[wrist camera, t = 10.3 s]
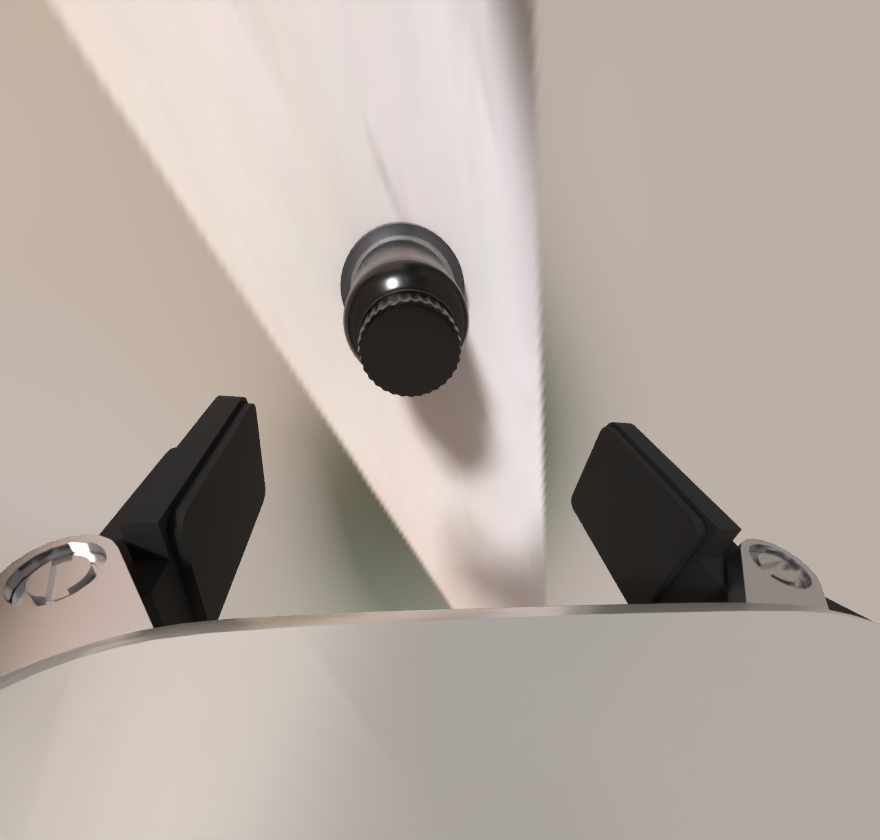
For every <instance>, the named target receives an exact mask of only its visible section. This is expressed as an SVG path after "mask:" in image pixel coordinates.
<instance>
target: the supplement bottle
mask: <svg viewBox="0 0 880 840" xmlns="http://www.w3.org/2000/svg"><path fill="white" fill-rule="evenodd" d="M343 325H344V332H345V336H346V340H347V342H348V345H349V347H350V349H351V351H352V352H353V354H354V356H355V357H356V358H357V360H358V361H359V362H360V363H361V364H362V365H363V369H364V371H365V372H366V373H367V374H368V377H369V379H371V380H373V381H374V383H375V384H376V385H377V386H379V387H381V388H382V389H383V390H384V391H389V392H390V393H391V394H398V395H400V396H409V397H413V396H415V395H416V396H421V395H423V394H427V393H430V392H432V391H433V390H436V389H438V388H439V387H440V386H441V385H443V384H445V383H446V381H447V379H449V378H451V377H452V374H453V372H454V371H455V370H456V369H457V364H458V362H459V361H460V356H459V355H460V353H461V351H462V349H463V347H464V344H465V342H466V339H467V334H468V328H469V314H468V308H467V305H466V301H465V299H464V296H463V294H462V292H461V290H460V288H459V286H458V285H457V283H456V282H455V280H454V279H453V277H452V276H451V274H450V273H449V271H448V270H447V268H446V267H445V265H444V264H443V262H442V261H441V260H440V259H439V257H438V256H437V255H436V254H435V253H434V252H433V251H432V250H430V249H429V248H427V247H426V246H424V245H422V244H420V243H418V242H415V241H411V240H404V239H398V240H391V241H387V242H385V243H382V244H380V245H378V246H377V247H375V248H374V249H372V250H371V251H370V252H369V253H368V254H367V255H366V256H365V257H364V259H363V260H362V262H361V263H360V265H359V267H358V269H357V272H356V275H355V277H354V280H353V283H352V285H351V288H350V291H349V294H348V296H347V299H346V303H345V308H344V316H343Z"/></svg>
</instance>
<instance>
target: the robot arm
mask: <svg viewBox="0 0 880 840" xmlns="http://www.w3.org/2000/svg"><path fill="white" fill-rule="evenodd" d="M264 497H265V482H264V473H263V464H262V456H261V447H260V439H259V431H258V422H257V415H256V407H255V405H254V404H250V403H248V402H247V400H246V398H244V397H234V396H218V397H216V398H215V400H214V401H213V402H212V403H211V405H210V406H209V407H208V409H207V410H206V411H205V412H204V414H203V415H202V416H201V417H200V419H199V420H198V421H197V422H196V424H195V425H194V426H193V427H192V429H191V430H190V431H189V432H188V434H187V435H186V436H185V438H184V439H183V440H182V441H181V443H180V444H179V445H178V446H177V447H175V448H172V449H170V450H169V451H168V452H167V453H166V454H165V455H164V456H163V458H162V459H161V460H160V461H159V463H158V464H157V465H156V466H155V467H154V469H153V470H152V471H151V472H150V474H149V475H148V476H147V477H146V478H145V480H144V481H143V482H142V483H141V485H140V486H139V487H138V488H137V489H136V491H135V492H134V493H133V494H132V495H131V497H130V498H129V499H128V500H127V502H126V503H125V504H124V505H123V507H122V508H121V509H120V510H119V511H118V513H117V514H116V515H115V516H114V518H113V519H112V520H111V521H110V523H109V524H108V525H107V526H106V527H105V529H104V530H103V531H102V532H101V533H100V535H80V536H72V537H67V538H63V539H60V540H57V541H53V542H50V543H47V544H45V545H43V546H41V547H39V548H36V549H34V550H32V551H30V552H28V553H27V554H25V555H24V556H22V557H20V558H19V559H17V560H16V561H14V562H13V563H12V564H10V565H9V566H8V567H7V568H6V569H5V570H4V571H3V572H1V573H0V840H880V624H879V623H876V622H873V621H871V620H869V619H867V618H865V617H863V616H861V615H859V614H857V613H855V612H853V611H851V610H849V609H847V608H845V607H843V606H841V605H839V604H837V603H835V602H833V601H831V600H829V599H828V598H826V597H825V596H824V593H823V590H822V587H821V584H820V582H819V580H818V578H817V576H816V575H815V574H814V573H813V572H812V571H811V570H810V568H809V567H808V566H807V565H805V564H804V563H803V562H802V561H801V560H799V559H798V558H797V557H795V556H794V555H792V554H791V553H789V552H788V551H786V550H784V549H782V548H780V547H778V546H776V545H774V544H771V543H769V542H766V541H763V540H758V539H746V540H745V541H743V542H742V543H741V544H740V545H739V546H737V545H736V544H735V543H734V542H733V539H734V538H735V537H736V536H737V534H738V533H739V532H740V531H741V528H740V527H739V526H737V524H735V522H733V521H732V520H731V519H730V518H729V517H728V516H727V515H726V514H725V513H724V512H723V511H722V510H721V509H720V508H719V507H718V506H717V505H716V504H715V503H714V502H713V501H711V499H710V498H709V497H708V496H706V495H705V494H704V493H703V492H702V491H701V490H700V489H699V488H698V487H697V486H696V485H695V484H694V483H693V482H692V481H691V480H690V479H689V478H688V477H687V476H686V475H685V474H684V473H683V472H682V471H681V470H680V469H679V468H678V467H677V466H676V465H675V464H674V463H673V462H671V461H670V460H669V459H668V458H667V457H666V456H665V455H664V454H663V453H662V452H661V451H660V450H659V449H658V448H657V447H656V446H655V445H654V444H653V443H652V442H651V441H650V440H649V439H648V438H647V437H646V436H645V435H644V434H643V433H642V432H640V430H638V429H637V428H636V427H635V426H634V425H633V424H630V423H615V422H612V423H609V424H608V425H607V426H606V427H604V428H603V429H602V430H601V431H600V433H599V436H598V438H597V440H596V442H595V445H594V447H593V449H592V452H591V454H590V456H589V459H588V461H587V463H586V465H585V468H584V470H583V472H582V474H581V477H580V479H579V481H578V483H577V486H576V488H575V490H574V493H573V495H572V499H571V503H572V507H573V509H574V511H575V513H576V515H577V516H578V518H579V520H580V522H581V523H582V525H583V527H584V529H585V530H586V532H587V534H588V536H589V537H590V539H591V541H592V542H593V544H594V546H595V548H596V549H597V551H598V553H599V555H600V556H601V558H602V560H603V561H604V563H605V565H606V567H607V568H608V570H609V572H610V574H611V575H612V577H613V579H614V580H615V582H616V583H617V586H618V587H619V589H620V591H621V593H622V594H623V596H624V598H625V599H626V601H627V603H628V604H618V605H582V606H581V605H579V606H543V607H510V608H477V609H446V610H418V611H389V612H362V613H361V612H360V613H332V614H311V615H291V616H273V617H253V618H234V619H224V620H218V618H219V616H220V613H221V610H222V608H223V605H224V603H225V600H226V597H227V595H228V592H229V590H230V587H231V584H232V582H233V579H234V577H235V574H236V571H237V569H238V566H239V564H240V561H241V558H242V556H243V553H244V551H245V548H246V546H247V543H248V540H249V537H250V535H251V533H252V530H253V527H254V525H255V522H256V520H257V517H258V514H259V512H260V509H261V507H262V504H263V501H264Z"/></svg>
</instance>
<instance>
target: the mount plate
mask: <svg viewBox="0 0 880 840" xmlns="http://www.w3.org/2000/svg"><path fill="white" fill-rule="evenodd" d="M398 239H404V240H411V241H415V242H418V243H420V244H422V245H424V246H426V247H427V248H429V249H430V250H432V251H433V252H434V253H435V254H436V255H437V256H438V257H439V259H440V260H441V261H442V262H443V264H444V265H445V267H446V268H447V270H448V271H449V273H450V274H451V276H452V277H453V279H454V280H455V282H456V283H457V285H458V286H459V288H460V290H461V292H462V294H463V296H464V279H463V274H462V270H461V267H460V264H459V262H458V259H457V258H456V256H455V254H454V252H453V251H452V250H451V248H450V247H449V246H448V245H447V244H446V243H445V242H444V241H443V240H442V239H441V238H440V237H439V236H438V235H436V234H435V233H434V232H432V231H430V230H429V229H427V228H425V227H422V226H420V225H417V224H413V223H407V222H393V223H388V224H384V225H381V226H378V227H376V228H374V229H372V230H371V231H369V232H368V233H366V234H365V235H364V236H362V237H361V238H360V239H359V240H358V242H357V243H356V244H355V245H354V247H353V248H352V250H351V251H350V253H349V255H348V257H347V259H346V261H345V264H344V267H343V271H342V275H341V296H342V301H343V305H344V308H345V303H346V299H347V296H348V294H349V291H350V288H351V285H352V283H353V280H354V277H355V275H356V272H357V269H358V267H359V265H360V263H361V262H362V260H363V259H364V257H365V256H366V255H367V254H368V253H369V252H370V251H371V250H372V249H374V248H375V247H377V246H378V245H380V244H382V243H385V242H387V241H391V240H398Z"/></svg>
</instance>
